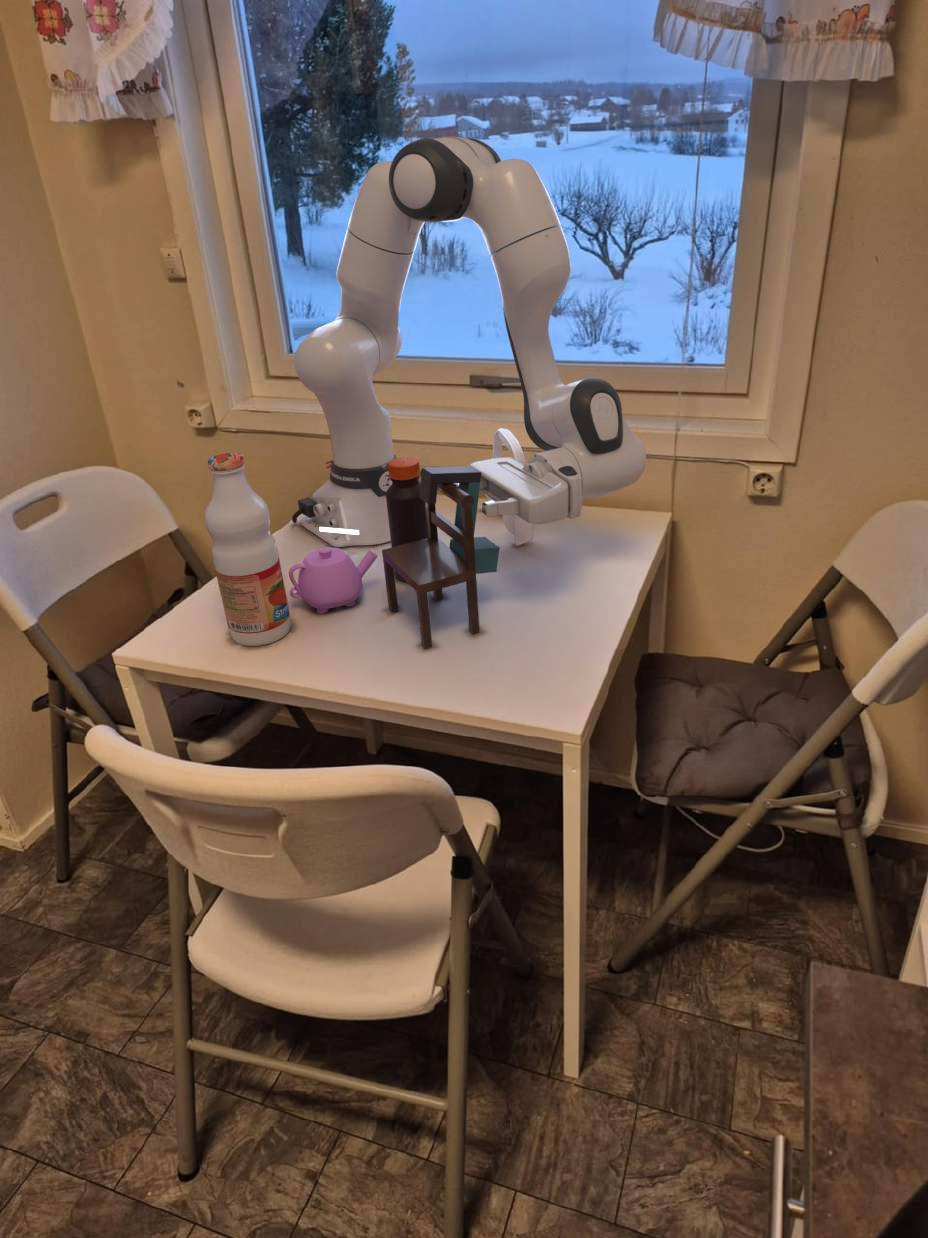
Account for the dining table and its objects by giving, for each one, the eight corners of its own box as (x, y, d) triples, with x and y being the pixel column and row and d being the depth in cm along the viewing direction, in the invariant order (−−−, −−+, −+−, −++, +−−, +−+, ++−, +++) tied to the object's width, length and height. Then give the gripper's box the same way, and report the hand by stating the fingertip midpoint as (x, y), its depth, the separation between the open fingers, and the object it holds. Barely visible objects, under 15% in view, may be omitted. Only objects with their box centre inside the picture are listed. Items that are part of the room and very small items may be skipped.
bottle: (417, 561, 150) (406, 452, 140) (442, 573, 146) (433, 460, 136) (386, 575, 146) (373, 463, 136) (412, 587, 142) (400, 472, 132)
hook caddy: (481, 560, 134) (494, 463, 127) (496, 572, 130) (509, 473, 124) (410, 566, 128) (419, 465, 122) (423, 578, 125) (433, 475, 118)
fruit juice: (227, 624, 135) (187, 453, 121) (286, 611, 137) (254, 442, 123) (234, 653, 127) (192, 474, 113) (297, 639, 129) (264, 461, 115)
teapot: (285, 597, 141) (276, 545, 137) (372, 576, 146) (366, 526, 141) (300, 624, 133) (290, 571, 128) (391, 602, 138) (385, 549, 133)
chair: (442, 594, 139) (431, 465, 128) (482, 631, 128) (474, 493, 117) (388, 609, 136) (373, 478, 125) (425, 649, 124) (411, 508, 114)
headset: (543, 544, 153) (542, 448, 144) (505, 550, 152) (501, 453, 143) (514, 504, 170) (512, 416, 161) (480, 509, 169) (475, 420, 160)
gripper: (515, 442, 137) (437, 459, 132) (587, 479, 121) (501, 501, 116) (516, 479, 140) (440, 498, 135) (586, 520, 124) (503, 543, 119)
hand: (469, 499), depth 125 cm, fingers open, 8 cm apart
